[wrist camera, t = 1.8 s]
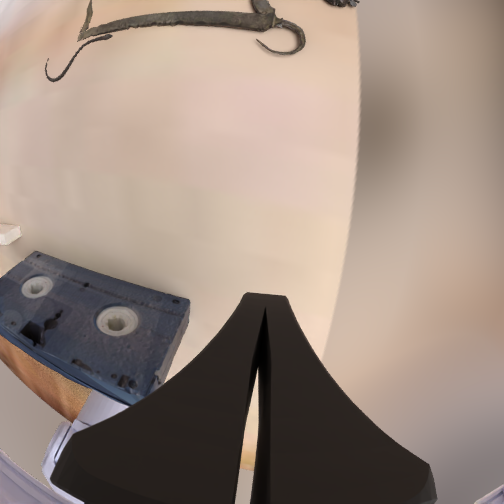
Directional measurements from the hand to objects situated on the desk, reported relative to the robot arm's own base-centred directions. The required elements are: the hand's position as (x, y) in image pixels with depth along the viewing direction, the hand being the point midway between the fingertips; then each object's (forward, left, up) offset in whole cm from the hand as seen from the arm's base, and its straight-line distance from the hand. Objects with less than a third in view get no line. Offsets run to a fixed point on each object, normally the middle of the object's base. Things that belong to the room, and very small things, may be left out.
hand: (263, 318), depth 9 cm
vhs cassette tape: (-7, +15, -11) cm, 20 cm away
